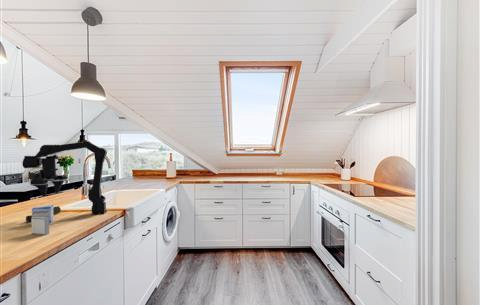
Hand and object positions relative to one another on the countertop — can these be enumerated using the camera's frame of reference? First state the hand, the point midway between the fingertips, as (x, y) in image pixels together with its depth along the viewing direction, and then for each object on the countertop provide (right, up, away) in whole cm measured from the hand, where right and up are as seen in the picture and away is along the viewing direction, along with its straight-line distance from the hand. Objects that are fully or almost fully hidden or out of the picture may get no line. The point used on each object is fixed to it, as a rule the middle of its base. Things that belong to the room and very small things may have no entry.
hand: (50, 194), depth 124 cm
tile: (+15, -14, -23) cm, 30 cm away
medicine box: (+2, -14, -6) cm, 15 cm away
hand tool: (-6, -14, +3) cm, 15 cm away
